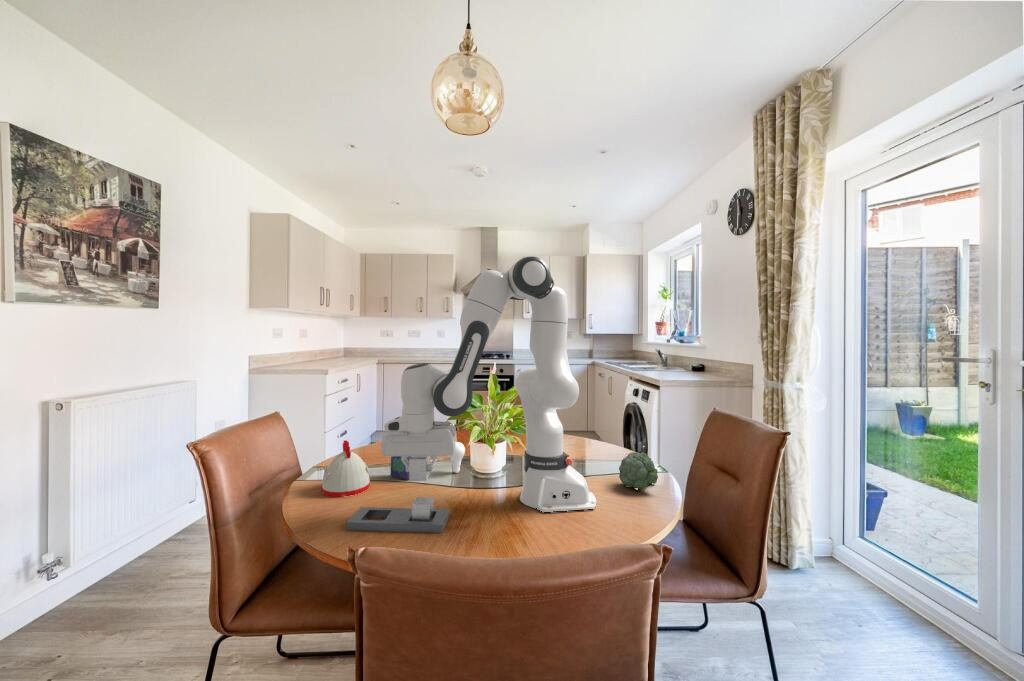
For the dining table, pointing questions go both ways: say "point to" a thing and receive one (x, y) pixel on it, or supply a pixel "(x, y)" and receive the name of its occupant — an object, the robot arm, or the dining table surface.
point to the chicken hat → (345, 474)
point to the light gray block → (423, 509)
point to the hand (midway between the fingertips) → (419, 471)
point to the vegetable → (637, 471)
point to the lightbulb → (457, 456)
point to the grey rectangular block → (418, 468)
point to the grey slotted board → (396, 520)
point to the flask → (399, 468)
